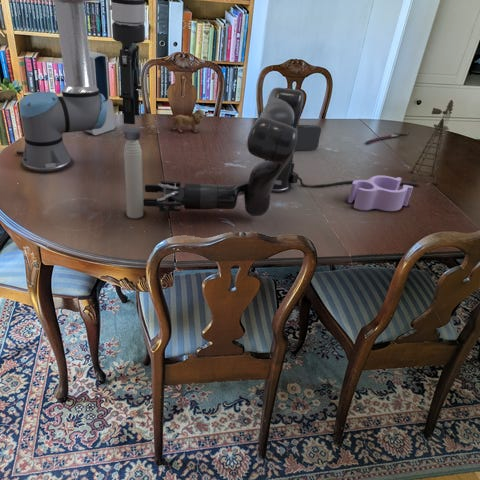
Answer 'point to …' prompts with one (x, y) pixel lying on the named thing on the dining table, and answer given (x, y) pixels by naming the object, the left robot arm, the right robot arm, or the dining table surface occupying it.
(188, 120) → the lion figurine
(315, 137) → the handheld gaming console
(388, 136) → the sword
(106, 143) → the dining table surface
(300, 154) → the dining table surface
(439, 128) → the miniature windmill
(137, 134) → the cap
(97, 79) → the electronic device
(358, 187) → the clip
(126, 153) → the bottle
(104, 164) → the dining table surface
